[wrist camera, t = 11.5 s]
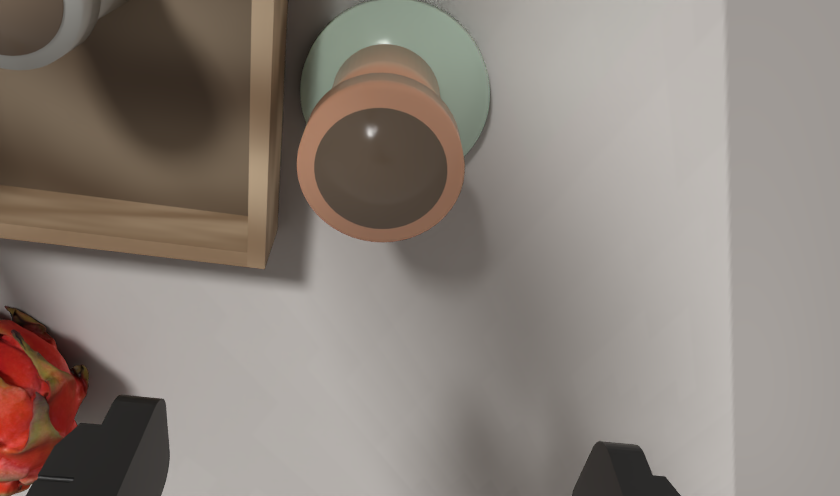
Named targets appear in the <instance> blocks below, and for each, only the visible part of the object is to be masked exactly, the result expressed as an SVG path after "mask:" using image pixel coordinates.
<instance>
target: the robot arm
mask: <svg viewBox="0 0 840 496" xmlns="http://www.w3.org/2000/svg"><path fill="white" fill-rule="evenodd" d="M169 459H170V451H169V438H168V426H167V414H166V404H165V401H164V399H160V398H149V397H139V396H128V395H119V396H118V397H117V398H116V399H115V400H114V402H113V404H112V406H111V407H110V409H109V411H108V413H107V415H106V417H105V419H104V421H103V423H102V425H98V424H87V423H80V424H79V425H78V426H77V427H76V428H75V429H73V430H72V431H71V432H70V433H69V434H68V435H67V436H65V437H64V438H63V439H62V440H61V441H60V442H59V443H57V444H56V445H55V446H54V448H53V449H52V451H51V453H50V455H49V456H48V458H47V460H46V461H45V463H44V465H43V467H42V468H41V470H40V472H39V474H38V478H37V480H35V481H34V482H33V484H32V486H31V488H30V489H29V491H28V493H27V495H26V496H161V494H162V491H163V488H164V485H165V482H166V478H167V473H168V468H169ZM572 496H681V495H680V494H679V493H678V492H677V491H676V489H675V488H674V487H673V486H672V485H671V483H670V482H669V481H668V480H667V478H666V477H664V476H653V475H652V473H651V470H650V467H649V465H648V462H647V460H646V457H645V455H644V452H643V451H642V449H641V448H640V447H639V446H638V445H633V444H623V443H612V442H601V441H599V442H597V443H596V444H595V445H594V447H593V449H592V451H591V453H590V455H589V457H588V459H587V462H586V464H585V466H584V468H583V470H582V472H581V474H580V477H579V479H578V481H577V483H576V485H575V487H574V490H573V494H572Z"/></svg>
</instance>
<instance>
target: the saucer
mask: <svg viewBox="0 0 840 496" xmlns="http://www.w3.org/2000/svg"><path fill="white" fill-rule="evenodd" d="M378 44H391V45H397V46H401V47H404V48H407V49H409V50H411V51H413V52H414V53H416V54H417V55H419V56H420V57H421V58H422V59H423V60H424V61H426V63H427V64H428V65H429V66H430V68H431V69H432V71H433V72H434V74H435V76H436V79H437V81H438V85H439V90H440V97H441V99H442V100H443V101H444V102H445V104H446V105H447V106H448V108H449V109H450V111H451V113H452V114H453V116H454V119H455V121H456V123H457V126H458V130H459V134H460V139H461V144H462V150H463V156H465V155H466V154H467V153H468V152H469V151H470V149H471V148H472V147H473V146H474V144H475V142H476V141H477V139H478V138H479V136H480V134H481V132H482V129H483V127H484V125H485V121H486V118H487V115H488V109H489V103H490V86H489V78H488V74H487V70H486V66H485V63H484V60H483V58H482V55H481V53H480V50H479V49H478V47H477V45H476V43H475V42H474V40H473V38H472V37H471V36H470V34H469V33H468V32H467V30H466V29H465V28H464V27H463V26H462V25H461V24H460V23H459V22H458V21H457V20H456V19H454V18H453V17H452V16H450V15H449V14H448V13H446V12H444V11H443V10H441V9H439V8H437V7H435V6H433V5H431V4H428V3H425V2H423V1H419V0H369V1H366V2H363V3H360V4H357V5H355V6H353V7H351V8H349V9H347V10H346V11H344V12H343V13H341V14H340V15H338V16H337V17H335V18H334V19H333V20H332V21H331V22H330V23H329V24H328V25H327V26H326V27H325V28H324V29H323V31H322V32H321V33H320V34H319V35H318V37H317V39H316V40H315V42H314V44H313V45H312V47H311V50H310V52H309V54H308V56H307V59H306V61H305V64H304V68H303V72H302V77H301V84H300V99H301V106H302V112H303V115H304V119H305V122H306V124H307V121H308V119H309V117H310V114H311V112H312V110H313V109H314V107H315V106H316V104H317V103H318V102H319V100H320V99H321V98H322V97H323V96H324V95H325V94H326V93H327V92H328V91H329V90H331V89H332V86H333V83H334V79H335V76H336V74H337V72H338V70H339V69H340V67H341V66H342V64H343V63H344V62H345V61H346V60H347V59H348V58H349V57H350V56H351V55H353V54H354V53H356V52H357V51H359V50H361V49H363V48H366V47H369V46H372V45H378Z"/></svg>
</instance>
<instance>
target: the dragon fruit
mask: <svg viewBox="0 0 840 496" xmlns="http://www.w3.org/2000/svg"><path fill="white" fill-rule="evenodd" d="M5 308H6V309H7V310H8V311H9V312H10V314H11V316H12V321H11V320H0V496H11V495H13V494H15V493H19V492H22V491H24V490H27V489H28V488H29V487H30V485H31V484H33V482H34V481H35V480H37V478H38V474H39V472H40V470H41V468H42V467H43V465H44V463H45V461H46V460H47V458H48V456H49V455H50V453H51V451H52V449H53V448H54V446H55V445H56V444H57V443H59V442H60V441H61V440H62V439H63V438H64V437H65V436H67V435H68V434H69V433H70V432H71V431H72V430H73V429H75V428H76V427H77V426H78V425H77V424H76V422H75V420H74V418H75V416H76V413H77V411H78V409H79V406H80V404H81V403H82V401H83V399H84V398H85V397H86V395H87V390H88V379H89V373H88V370H87V368H86V367H85V366H84V365H76V366H74V367H73V368H72V369H70V370H69V368H68V365H67V363H66V361H65V360H64V358H63V357H62V356H61V354H60V353H59V352H58V350H57V345H56V343H55V340H54V339H53V338H52V337H51V336H50V335H49V334H47V333H46V332H45V331H46V329H47V328H46V327H45V326H44V325H42V324H41V323H39V322H37V321H36V320H34V319H33V318H32V317H30V316H28V315H26V314H25V313H22V312H20V311H18V310H17V309H15V308H10V307H7V306H5Z"/></svg>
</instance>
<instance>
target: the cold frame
mask: <svg viewBox="0 0 840 496" xmlns="http://www.w3.org/2000/svg"><path fill="white" fill-rule="evenodd" d="M287 11H288V0H128V1H127V2H126V3H125V4H123V5H122V6H120V7H118V8H117V9H115V10H113V11H112V12H110V13H108V14H106V15H105V16H103V17H101V18H100V19H98V20H97V23H96V25H95V27H94V29H93V31H92V32H91V34H90V35H89V37H88V38H87V39H86V40H85V41H84V42H83V43H82V44H80V45H79V46H78V47H76V48H75V49H73V50H72V51H70V52H68V53H67V54H65V55H64V56H62V57H60V58H59V59H57V60H56V61H54V62H52V63H50V64H48V65H46V66H43V67H40V68H36V69H31V70H9V69H3V68H0V238H5V239H13V240H22V241H30V242H39V243H47V244H56V245H64V246H73V247H81V248H90V249H98V250H106V251H115V252H123V253H132V254H140V255H149V256H157V257H166V258H174V259H183V260H191V261H200V262H208V263H217V264H225V265H234V266H242V267H250V268H259V269H265V266H266V263H267V260H268V257H269V254H270V251H271V248H272V245H273V242H274V239H275V236H276V233H277V226H278V204H279V183H280V161H281V140H282V118H283V97H284V75H285V54H286V32H287Z"/></svg>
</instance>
